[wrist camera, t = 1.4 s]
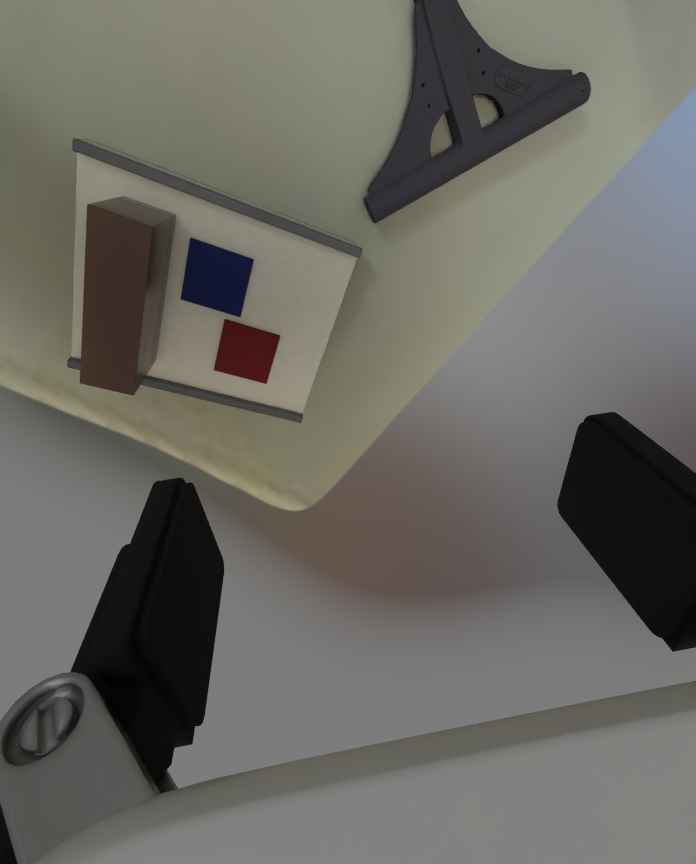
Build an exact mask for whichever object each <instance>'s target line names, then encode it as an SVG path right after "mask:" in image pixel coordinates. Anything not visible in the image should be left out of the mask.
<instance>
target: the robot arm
mask: <svg viewBox="0 0 696 864" xmlns="http://www.w3.org/2000/svg"><path fill="white" fill-rule="evenodd" d="M557 505H558V511H559V513H560V515H561V517H562V518H563V519H564V521H565V522H566V523H567V524H568V526H569V527H570V528H571V530H572V531H573V532H574V533H575V535H576V536H577V537H578V538H579V540H580V541H581V542H582V544H583V545H584V546H585V548H586V549H587V550H588V551H589V553H590V554H591V555H592V557H593V558H594V559H595V560H596V562H597V563H598V564H599V566H600V567H601V568H602V569H603V571H604V572H605V573H606V575H607V576H608V577H609V578H610V580H611V581H612V582H613V583H614V585H615V586H616V587H617V589H618V590H619V591H620V592H621V593H622V595H623V596H624V598H625V599H626V600H627V601H628V603H629V604H630V605H631V607H632V608H633V609H634V610H635V612H636V613H637V614H638V616H640V618H641V619H642V621H643V622H644V623H645V625H646V626H647V627H648V628H649V630H650V631H651V632H652V633H653V634H654V635H656V636H658V637H660V638H662V639H663V640H664V641H665V642H666V644H667V645H668V646H669V647H670V649H671V650H672V651H673V652H674V651H679V650H683V649H689V648H694V647H696V473H694V472H693V471H692V470H691V469H689V468H688V467H687V466H686V465H684V464H683V463H682V462H680V461H679V460H678V459H676V458H675V457H674V456H672V455H671V454H670V453H668V452H667V451H666V450H665V449H663V448H662V447H661V446H659V445H658V444H657V443H655V442H654V441H653V440H651V439H650V438H649V437H648V436H646V435H645V434H644V433H642V432H641V431H640V430H638V429H637V428H636V427H634V426H633V425H632V424H630V423H629V422H628V421H627V420H625V419H624V418H623V417H621V416H620V415H619V414H617V413H615V412H609V413H602V414H596V415H590V416H587V417H586V418H585V419H584V422H583V423H581V424H580V425H579V427H578V429H577V432H576V436H575V440H574V444H573V447H572V451H571V455H570V458H569V462H568V466H567V469H566V473H565V477H564V480H563V484H562V488H561V491H560V495H559V499H558V504H557ZM223 576H224V562H223V558H222V555H221V553H220V550H219V548H218V545H217V542H216V540H215V537H214V535H213V532H212V530H211V527H210V525H209V522H208V520H207V517H206V514H205V512H204V509H203V507H202V504H201V502H200V499H199V497H198V494H197V492H196V489H195V487H194V485H193V484H192V483H186V482H185V481H184V480H183V478H175V479H169V480H163V481H156V482H155V483H154V484H153V486H152V489H151V491H150V494H149V497H148V499H147V502H146V504H145V507H144V510H143V512H142V515H141V517H140V520H139V523H138V525H137V528H136V530H135V533H134V535H133V538H132V540H131V543H130V544H128V545H125V546H124V547H123V548H122V549H121V550H120V552H119V554H118V556H117V559H116V561H115V564H114V566H113V568H112V571H111V573H110V576H109V578H108V581H107V583H106V586H105V588H104V591H103V593H102V595H101V598H100V600H99V603H98V605H97V608H96V610H95V613H94V615H93V618H92V620H91V623H90V625H89V628H88V630H87V632H86V635H85V637H84V640H83V642H82V645H81V647H80V649H79V652H78V655H77V657H76V659H75V662H74V664H73V667H72V669H71V672H70V673H61V674H58V675H55V676H53V677H50V678H48V679H46V680H44V681H42V682H40V683H39V684H37V685H36V686H34V687H32V688H31V689H30V690H28V691H27V692H26V693H25V694H24V695H23V696H22V697H21V698H19V699H18V700H17V701H16V702H15V703H14V704H13V706H12V707H11V708H10V709H9V710H8V712H7V713H6V714H5V715H4V717H3V718H2V720H1V722H0V864H696V681H693V682H687V683H683V684H677V685H672V686H667V687H662V688H656V689H652V690H646V691H641V692H636V693H631V694H625V695H620V696H615V697H610V698H604V699H600V700H594V701H589V702H584V703H579V704H575V705H569V706H564V707H559V708H554V709H549V710H544V711H539V712H533V713H528V714H524V715H518V716H514V717H508V718H504V719H498V720H494V721H488V722H483V723H478V724H473V725H468V726H463V727H458V728H453V729H448V730H443V731H438V732H433V733H428V734H423V735H418V736H413V737H408V738H404V739H399V740H394V741H389V742H384V743H379V744H374V745H369V746H364V747H360V748H354V749H349V750H345V751H340V752H335V753H330V754H325V755H320V756H315V757H310V758H305V759H301V760H296V761H292V762H287V763H283V764H278V765H274V766H269V767H265V768H260V769H256V770H252V771H247V772H242V773H238V774H234V775H229V776H224V777H220V778H215V779H212V780H208V781H204V782H200V783H197V784H193V785H190V786H186V787H183V788H179V789H178V787H177V786H176V784H175V782H174V781H173V779H172V777H171V776H170V774H169V772H168V771H167V769H168V768H169V766H170V765H171V763H172V758H173V752H174V748H175V747H181V746H186V745H191V744H192V743H193V736H194V729H195V726H200V725H201V724H202V723H203V719H204V716H205V709H206V702H207V694H208V687H209V679H210V672H211V665H212V658H213V650H214V642H215V635H216V628H217V621H218V612H219V606H220V598H221V591H222V584H223Z"/></svg>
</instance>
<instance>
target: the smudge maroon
mask: <svg viewBox="0 0 696 864" xmlns="http://www.w3.org/2000/svg"><path fill="white" fill-rule="evenodd" d="M279 340H280V335H277V334H274V333H270V332H267V331H264V330H260V329H257V328H254V327H250V326H247V325H244V324H240V323H237V322H233V321H230V320H227V319H225V320H224V324H223V329H222V334H221V338H220V343H219V347H218V352H217V357H216V361H215V366H214V371H218V372H222V373H226V374H230V375H234V376H237V377H241V378H245V379H249V380H253V381H257V382H260V383H264V384H267V381H268V378H269V374H270V371H271V367H272V364H273V360H274V357H275V354H276V350H277V347H278V343H279Z"/></svg>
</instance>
